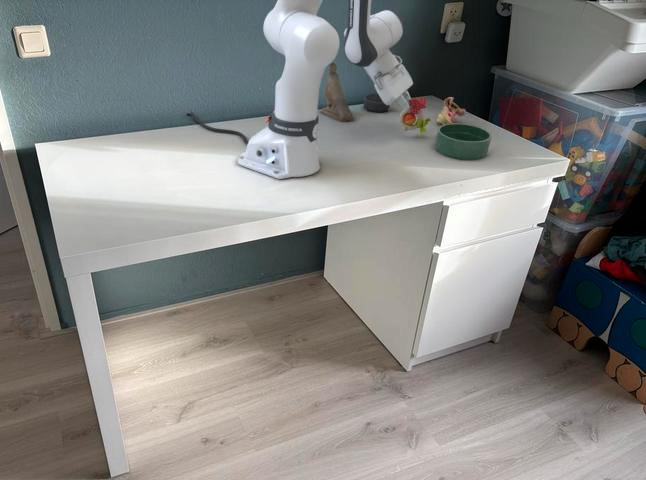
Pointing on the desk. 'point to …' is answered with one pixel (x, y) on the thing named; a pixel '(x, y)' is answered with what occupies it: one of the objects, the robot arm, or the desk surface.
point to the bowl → (463, 141)
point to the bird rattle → (410, 118)
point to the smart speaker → (375, 103)
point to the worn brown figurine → (336, 98)
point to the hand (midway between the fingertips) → (409, 107)
